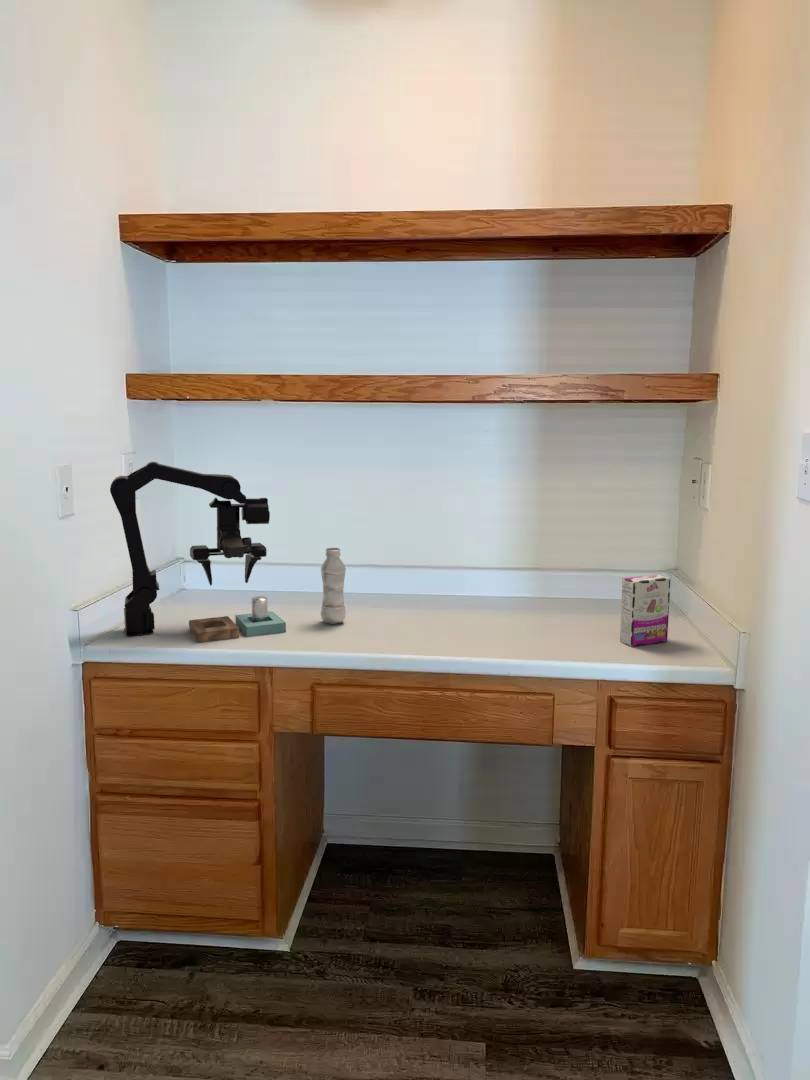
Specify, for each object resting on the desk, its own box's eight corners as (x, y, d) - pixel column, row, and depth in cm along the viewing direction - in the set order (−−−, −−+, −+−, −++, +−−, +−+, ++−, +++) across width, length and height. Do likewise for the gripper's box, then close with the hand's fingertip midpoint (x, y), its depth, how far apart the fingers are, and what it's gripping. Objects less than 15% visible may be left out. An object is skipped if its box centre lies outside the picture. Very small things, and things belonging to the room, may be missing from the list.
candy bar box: (654, 636, 199) (658, 573, 196) (667, 642, 195) (672, 577, 192) (617, 641, 195) (621, 577, 192) (630, 647, 191) (635, 581, 188)
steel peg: (254, 631, 201) (253, 600, 200) (250, 627, 205) (249, 597, 203) (269, 629, 203) (269, 599, 202) (265, 625, 206) (264, 595, 205)
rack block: (247, 636, 196) (247, 627, 196) (235, 624, 207) (235, 615, 207) (285, 632, 201) (285, 622, 200) (272, 620, 211) (272, 611, 211)
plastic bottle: (329, 618, 214) (328, 545, 210) (350, 621, 211) (350, 548, 207) (315, 624, 208) (315, 549, 205) (337, 627, 205) (337, 552, 201)
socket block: (198, 642, 191) (198, 632, 191) (189, 629, 202) (188, 620, 201) (239, 637, 196) (239, 628, 195) (228, 625, 206) (227, 616, 206)
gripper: (196, 530, 191) (197, 593, 193) (272, 528, 199) (272, 588, 201) (189, 524, 201) (190, 583, 203) (261, 521, 209) (261, 579, 211)
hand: (228, 583), depth 205 cm, fingers open, 9 cm apart
